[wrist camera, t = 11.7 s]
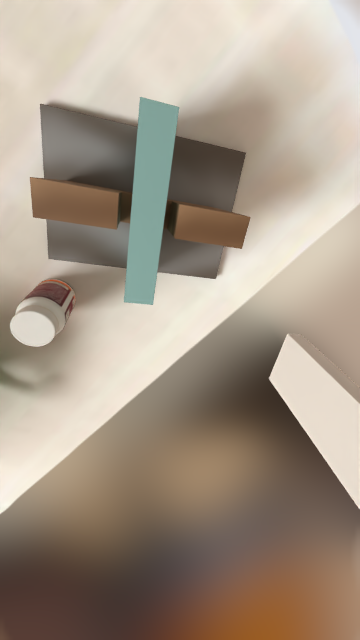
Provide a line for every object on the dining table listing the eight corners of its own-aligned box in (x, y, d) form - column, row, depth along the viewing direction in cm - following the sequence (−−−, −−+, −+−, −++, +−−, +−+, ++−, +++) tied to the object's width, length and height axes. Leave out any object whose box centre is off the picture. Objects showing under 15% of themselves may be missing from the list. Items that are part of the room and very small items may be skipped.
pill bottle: (26, 286, 31) (-7, 318, 23) (63, 272, 31) (41, 299, 23) (49, 318, 33) (25, 357, 26) (83, 305, 33) (68, 340, 26)
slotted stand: (42, 106, 24) (-20, 52, 14) (243, 153, 28) (298, 136, 18) (50, 257, 30) (11, 290, 20) (214, 277, 34) (244, 312, 24)
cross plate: (138, 128, 25) (140, 96, 16) (163, 134, 25) (179, 107, 17) (127, 269, 31) (124, 302, 22) (147, 271, 31) (152, 304, 23)
